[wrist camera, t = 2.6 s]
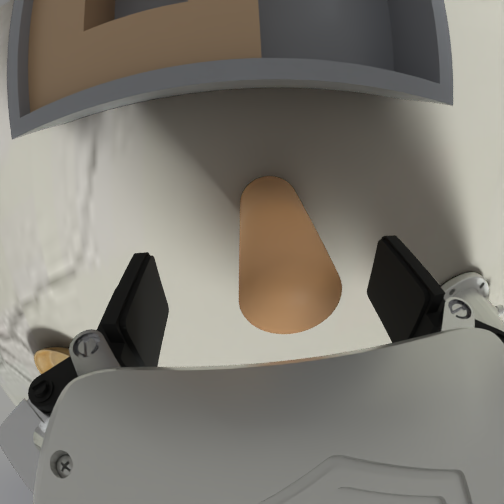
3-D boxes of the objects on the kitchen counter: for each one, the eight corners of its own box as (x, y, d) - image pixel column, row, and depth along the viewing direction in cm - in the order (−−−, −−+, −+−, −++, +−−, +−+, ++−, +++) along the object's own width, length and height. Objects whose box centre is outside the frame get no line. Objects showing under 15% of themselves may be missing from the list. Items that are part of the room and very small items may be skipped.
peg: (298, 175, 18) (348, 250, 9) (296, 228, 20) (334, 329, 11) (238, 177, 18) (234, 257, 9) (242, 231, 20) (242, 336, 11)
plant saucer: (27, 345, 28) (20, 358, 26) (73, 325, 25) (64, 341, 23) (91, 400, 35) (88, 413, 33) (151, 394, 32) (147, 409, 30)
